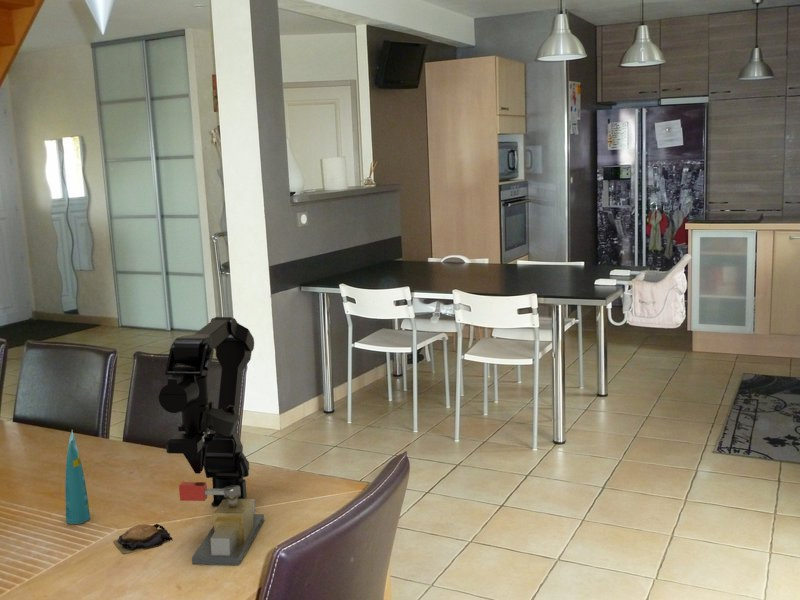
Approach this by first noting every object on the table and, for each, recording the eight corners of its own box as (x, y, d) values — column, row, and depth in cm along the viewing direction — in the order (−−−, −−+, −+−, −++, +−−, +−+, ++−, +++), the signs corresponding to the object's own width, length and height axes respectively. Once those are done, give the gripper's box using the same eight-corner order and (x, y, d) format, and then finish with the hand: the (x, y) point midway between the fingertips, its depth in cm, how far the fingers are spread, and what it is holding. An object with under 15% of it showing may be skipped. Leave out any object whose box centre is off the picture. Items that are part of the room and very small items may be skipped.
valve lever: (242, 496, 166) (241, 481, 165) (238, 502, 162) (237, 487, 162) (184, 495, 167) (183, 480, 166) (178, 502, 163) (177, 486, 163)
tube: (91, 524, 175) (84, 437, 172) (67, 528, 173) (59, 441, 170) (88, 511, 182) (81, 428, 179) (64, 516, 180) (57, 431, 177)
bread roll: (122, 559, 160) (121, 541, 160) (111, 543, 167) (110, 526, 167) (176, 544, 166) (175, 527, 166) (163, 529, 173) (162, 512, 173)
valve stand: (192, 564, 156) (189, 518, 155) (222, 520, 176) (220, 478, 174) (238, 565, 155) (236, 518, 154) (264, 520, 175) (262, 479, 174)
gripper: (219, 412, 156) (224, 490, 158) (245, 386, 174) (249, 456, 177) (162, 412, 157) (168, 489, 159) (194, 386, 175) (198, 456, 178)
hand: (198, 472), depth 168 cm, fingers closed
